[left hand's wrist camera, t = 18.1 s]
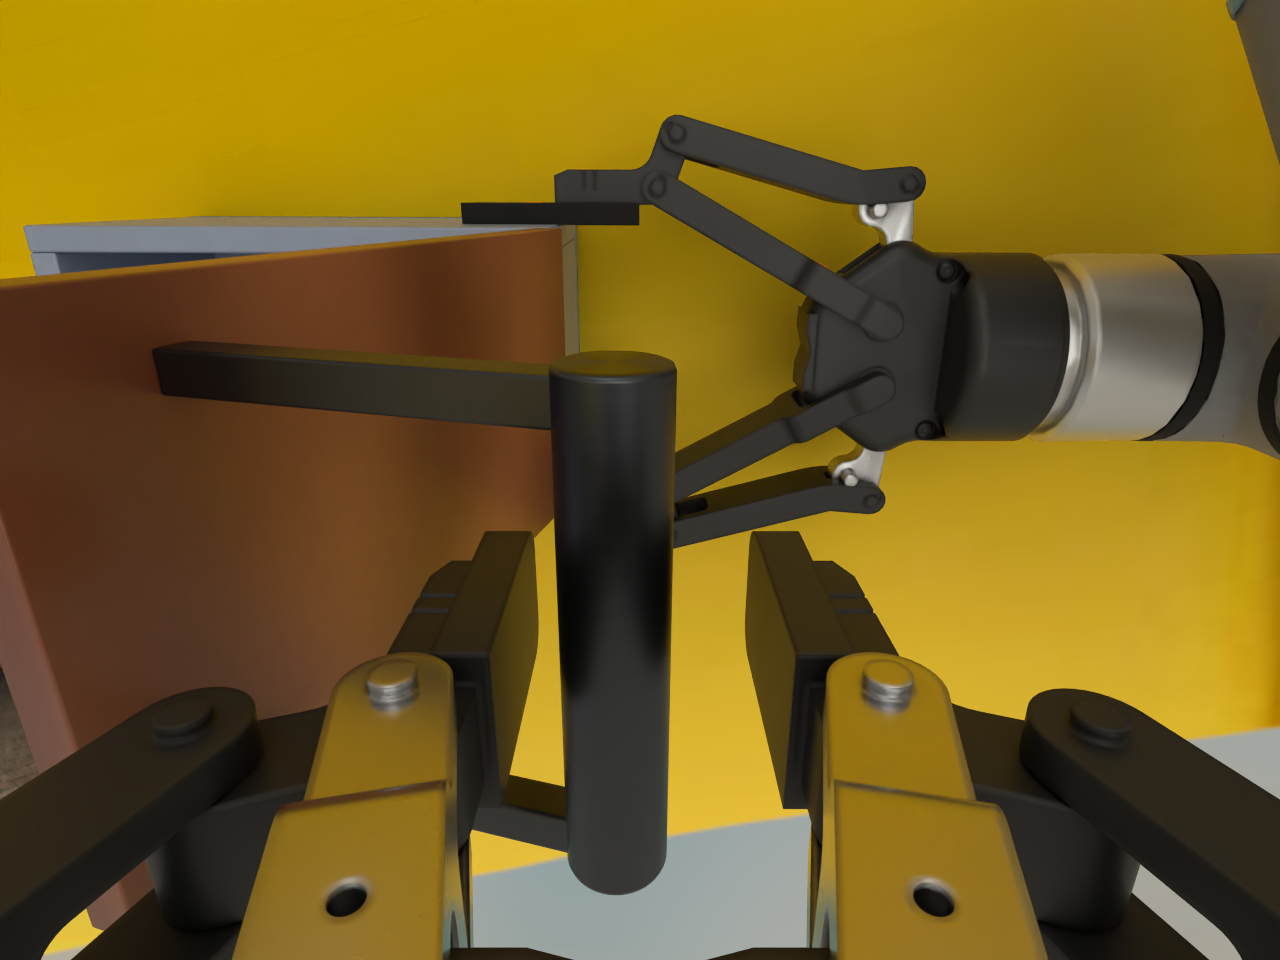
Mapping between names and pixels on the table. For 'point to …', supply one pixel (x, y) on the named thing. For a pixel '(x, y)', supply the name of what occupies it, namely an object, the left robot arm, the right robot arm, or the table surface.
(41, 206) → the table surface
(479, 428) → the lid
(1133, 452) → the table surface
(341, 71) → the table surface
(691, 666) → the table surface
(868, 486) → the right robot arm
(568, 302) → the chest
